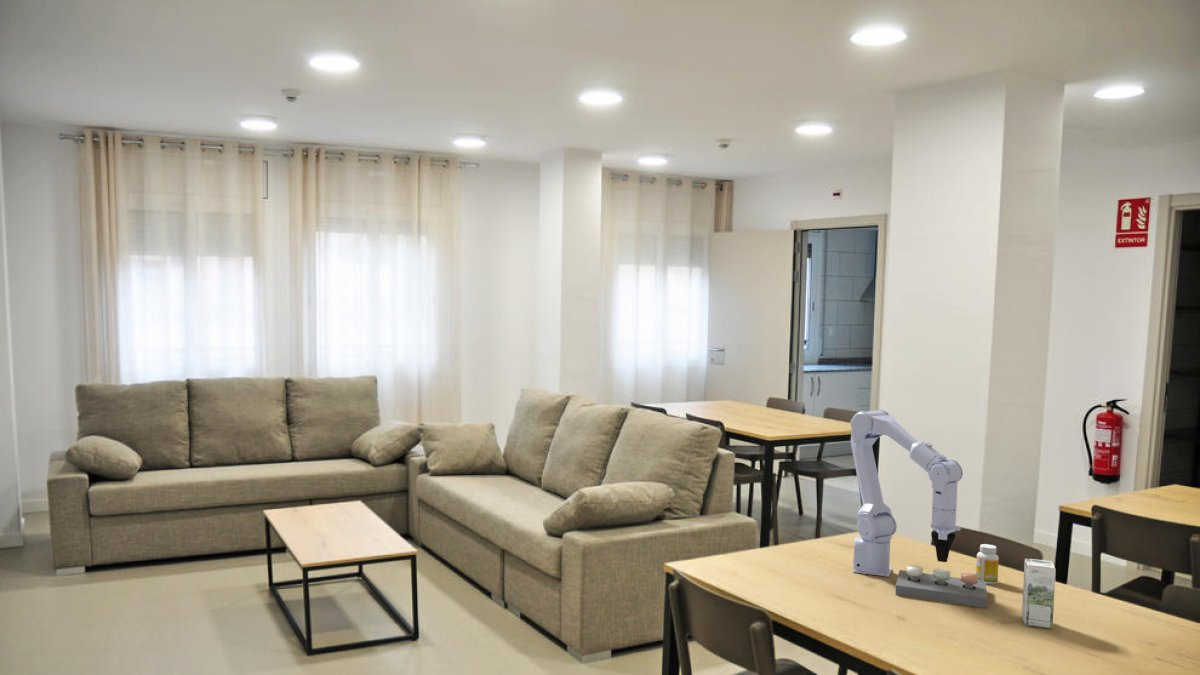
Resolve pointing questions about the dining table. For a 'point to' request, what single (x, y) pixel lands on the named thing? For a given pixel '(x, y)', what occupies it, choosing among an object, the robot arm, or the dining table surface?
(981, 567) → the supplement bottle
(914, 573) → the button cream
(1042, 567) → the syrup box
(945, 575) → the button sage
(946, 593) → the panel
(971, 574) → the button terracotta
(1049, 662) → the dining table surface
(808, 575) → the dining table surface
